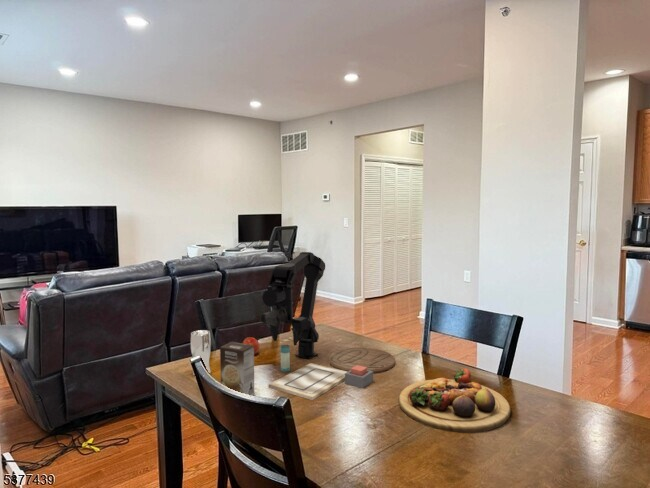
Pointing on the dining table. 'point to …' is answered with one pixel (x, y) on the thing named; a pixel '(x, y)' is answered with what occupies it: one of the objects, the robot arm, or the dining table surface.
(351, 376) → the button housing
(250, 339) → the pomegranate
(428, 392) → the wooden plate with food
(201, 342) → the beer glass
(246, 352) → the coffee box
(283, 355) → the teal-banded white cylinder
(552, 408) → the dining table surface
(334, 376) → the board
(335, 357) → the trivet
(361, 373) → the button
